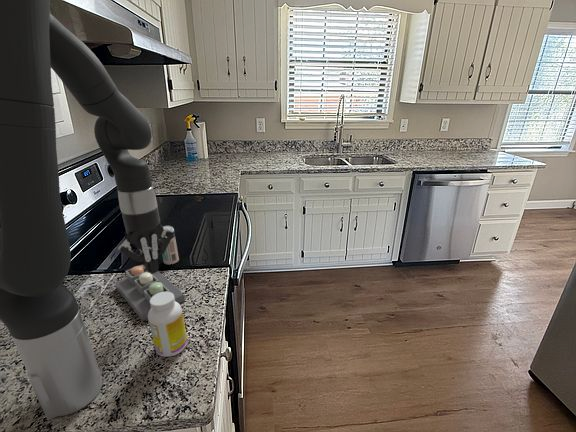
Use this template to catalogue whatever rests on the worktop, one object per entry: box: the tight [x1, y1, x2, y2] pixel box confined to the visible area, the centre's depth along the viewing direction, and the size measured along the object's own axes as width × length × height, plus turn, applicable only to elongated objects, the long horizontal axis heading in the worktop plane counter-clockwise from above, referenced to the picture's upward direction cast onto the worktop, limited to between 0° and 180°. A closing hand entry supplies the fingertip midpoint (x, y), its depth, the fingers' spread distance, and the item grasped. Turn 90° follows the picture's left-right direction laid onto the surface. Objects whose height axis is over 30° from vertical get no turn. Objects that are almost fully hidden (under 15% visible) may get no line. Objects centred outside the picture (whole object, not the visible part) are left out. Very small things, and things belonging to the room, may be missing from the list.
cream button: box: [139, 272, 153, 286], centre depth 84 cm, size 3×3×3 cm
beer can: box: [159, 225, 180, 266], centre depth 99 cm, size 5×5×12 cm
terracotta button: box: [130, 265, 144, 276], centre depth 88 cm, size 3×3×3 cm
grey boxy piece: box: [114, 264, 186, 322], centre depth 85 cm, size 11×19×4 cm, turn 44°
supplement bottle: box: [147, 292, 188, 358], centre depth 66 cm, size 7×7×13 cm
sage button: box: [149, 282, 164, 297], centre depth 79 cm, size 3×3×3 cm
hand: (153, 271), depth 77 cm, fingers closed
